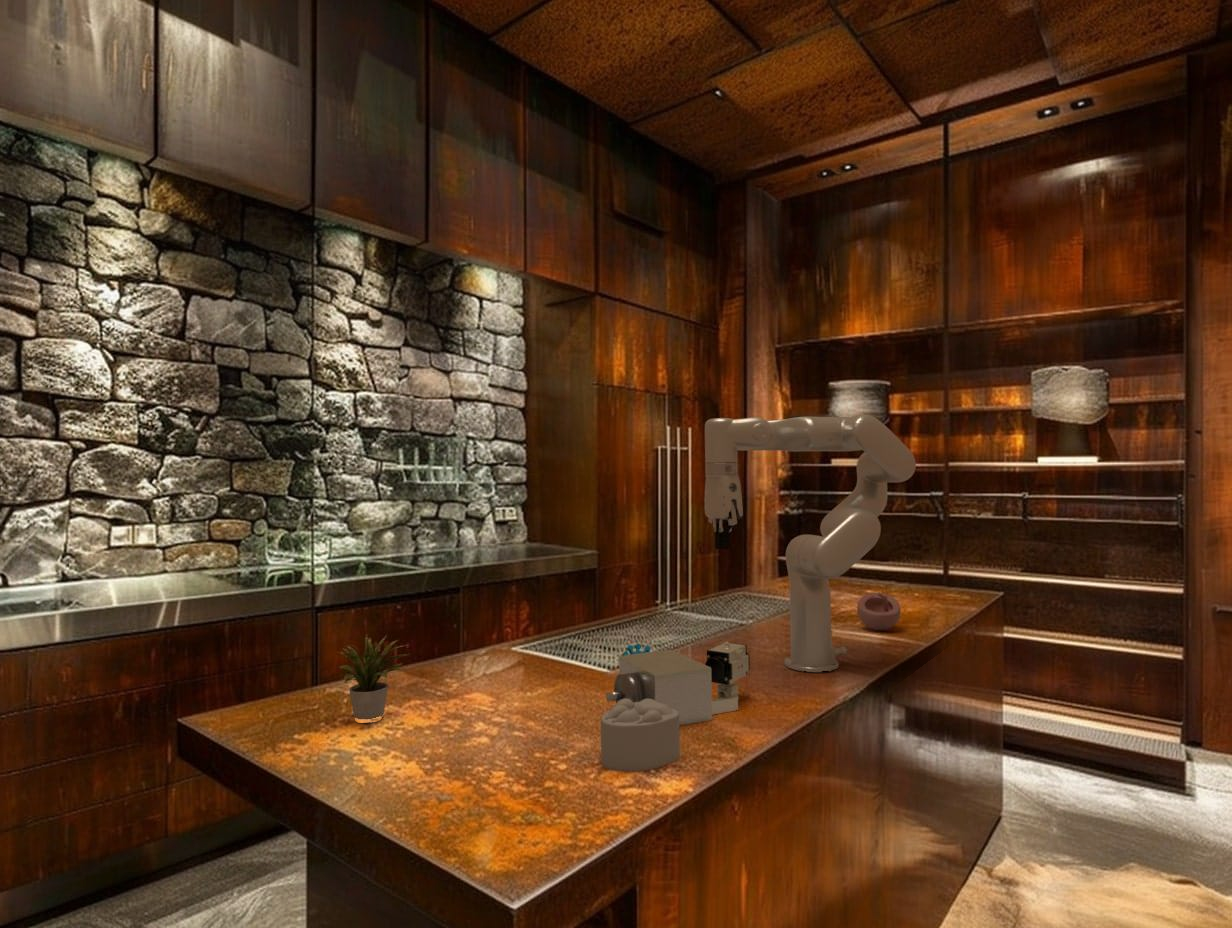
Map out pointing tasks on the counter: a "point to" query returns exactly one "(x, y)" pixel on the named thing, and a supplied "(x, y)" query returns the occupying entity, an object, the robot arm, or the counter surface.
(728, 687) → the pneumatic valve
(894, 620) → the mortar and pestle
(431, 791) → the counter surface
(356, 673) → the house plant
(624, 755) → the lumpy-topped squat cylinder
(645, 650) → the teal lobed piece
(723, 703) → the motor
